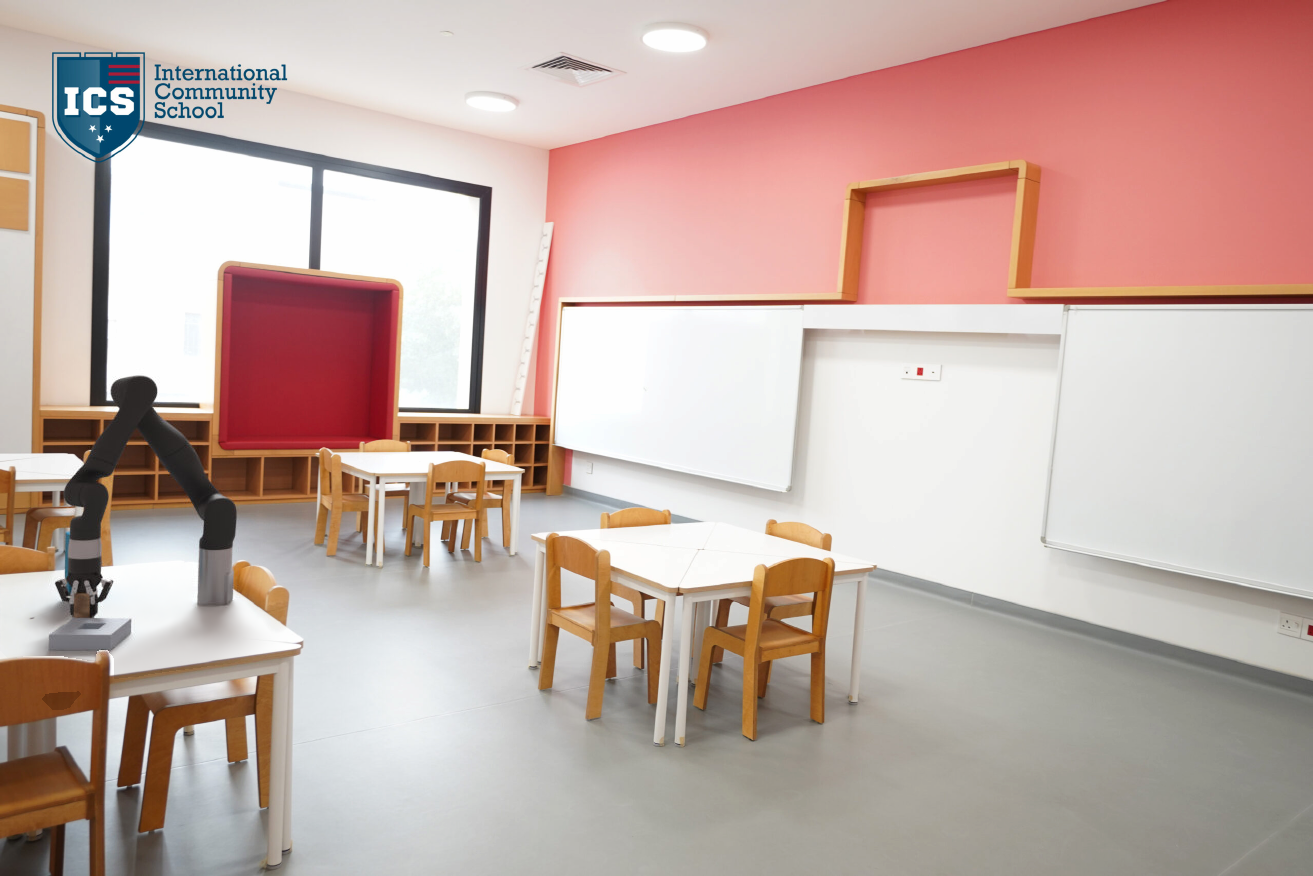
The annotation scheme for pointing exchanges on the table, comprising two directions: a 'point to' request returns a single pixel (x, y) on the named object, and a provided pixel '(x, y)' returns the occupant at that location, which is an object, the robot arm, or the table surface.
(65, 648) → the socket block
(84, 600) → the walnut peg
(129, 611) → the table surface
